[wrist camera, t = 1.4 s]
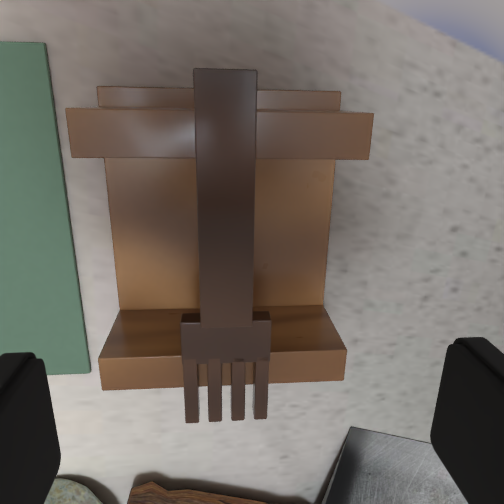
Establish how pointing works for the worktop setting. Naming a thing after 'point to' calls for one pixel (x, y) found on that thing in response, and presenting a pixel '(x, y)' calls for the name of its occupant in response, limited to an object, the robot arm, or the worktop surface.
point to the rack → (186, 227)
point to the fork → (225, 248)
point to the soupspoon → (70, 493)
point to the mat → (36, 221)
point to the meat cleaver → (353, 477)
